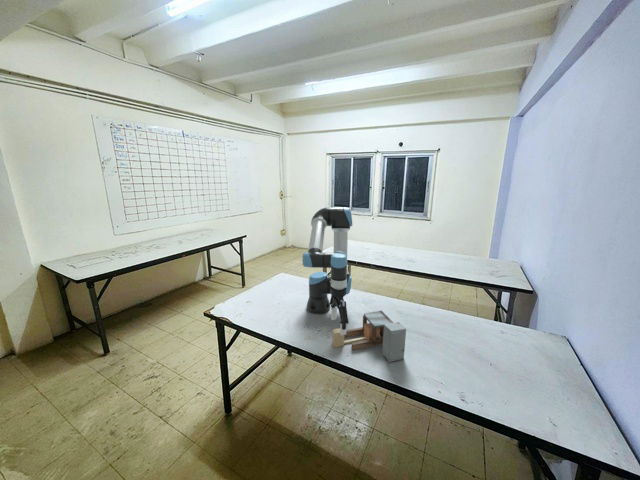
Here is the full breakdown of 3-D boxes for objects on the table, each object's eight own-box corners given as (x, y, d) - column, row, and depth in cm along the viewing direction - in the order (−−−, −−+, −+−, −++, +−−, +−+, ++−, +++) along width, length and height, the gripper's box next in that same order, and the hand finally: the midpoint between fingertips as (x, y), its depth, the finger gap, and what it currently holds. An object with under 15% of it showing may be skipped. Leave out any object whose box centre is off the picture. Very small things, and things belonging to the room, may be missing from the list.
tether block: (331, 341, 129) (331, 328, 127) (373, 333, 135) (374, 320, 133) (335, 349, 124) (335, 335, 122) (379, 340, 130) (380, 326, 128)
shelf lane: (343, 335, 134) (344, 316, 131) (380, 328, 140) (381, 310, 137) (352, 350, 123) (353, 330, 120) (392, 342, 128) (393, 322, 125)
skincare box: (388, 362, 114) (390, 332, 110) (380, 352, 121) (382, 323, 117) (405, 359, 116) (407, 329, 112) (396, 349, 123) (398, 320, 119)
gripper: (323, 277, 130) (323, 314, 135) (340, 299, 106) (339, 343, 111) (337, 276, 132) (337, 312, 137) (356, 296, 108) (355, 340, 113)
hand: (338, 326), depth 124 cm, fingers open, 13 cm apart
